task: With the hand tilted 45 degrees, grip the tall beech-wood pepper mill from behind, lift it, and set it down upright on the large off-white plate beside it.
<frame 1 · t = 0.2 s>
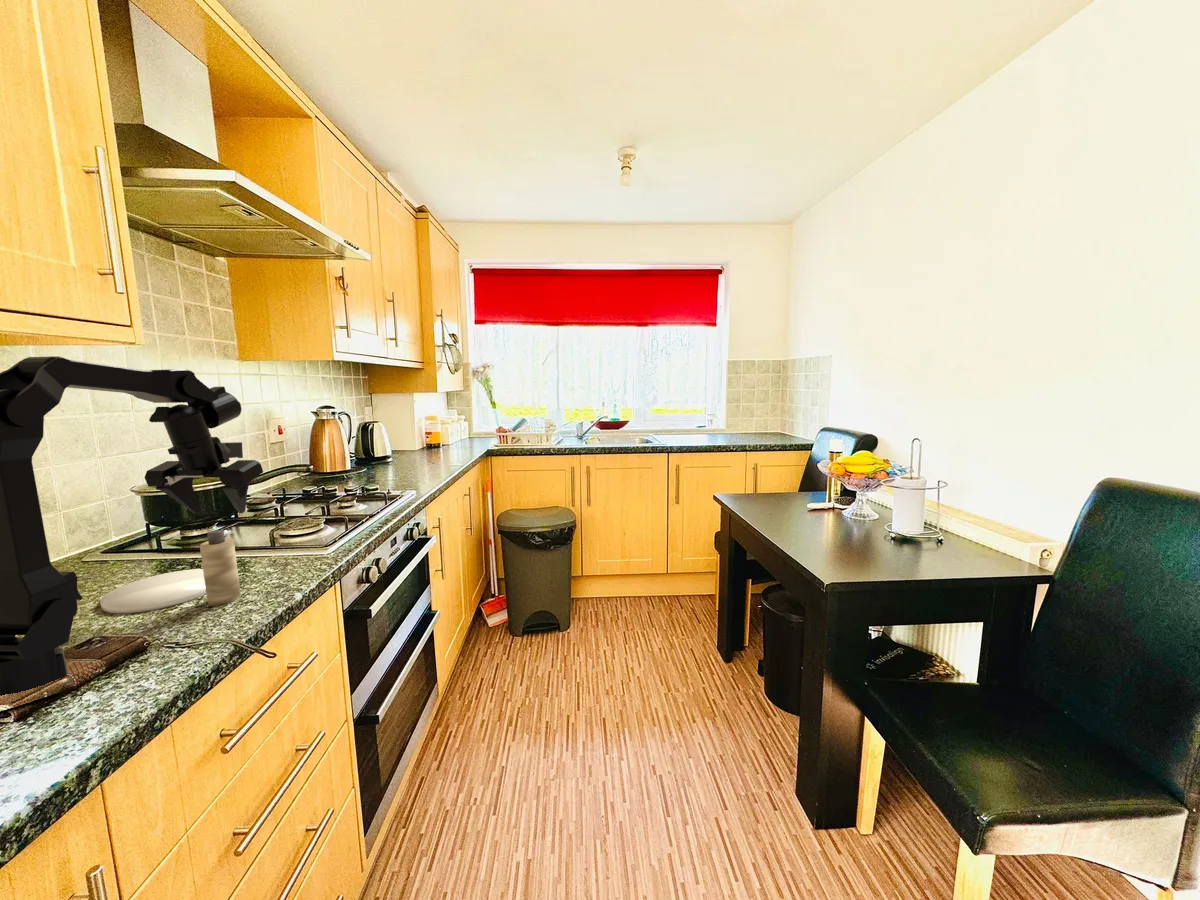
hand: (219, 512, 97), 15 cm above the counter, tool tilted 15°, fingers open, 9 cm apart
pepper mill: (224, 599, 94), on the counter
plate: (165, 592, 98), on the counter
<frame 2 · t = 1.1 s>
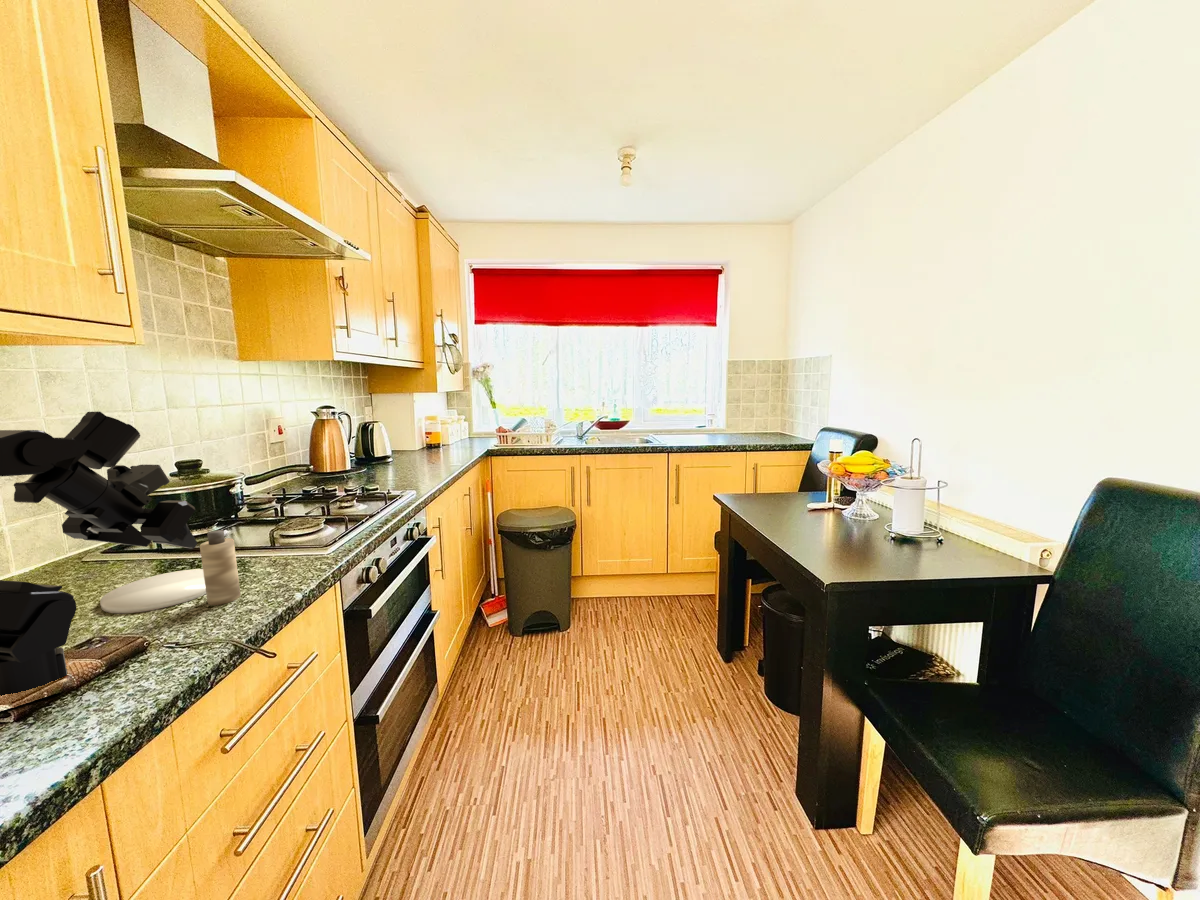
hand: (171, 544, 84), 13 cm above the counter, tool tilted 45°, fingers open, 9 cm apart
nothing on the counter moved.
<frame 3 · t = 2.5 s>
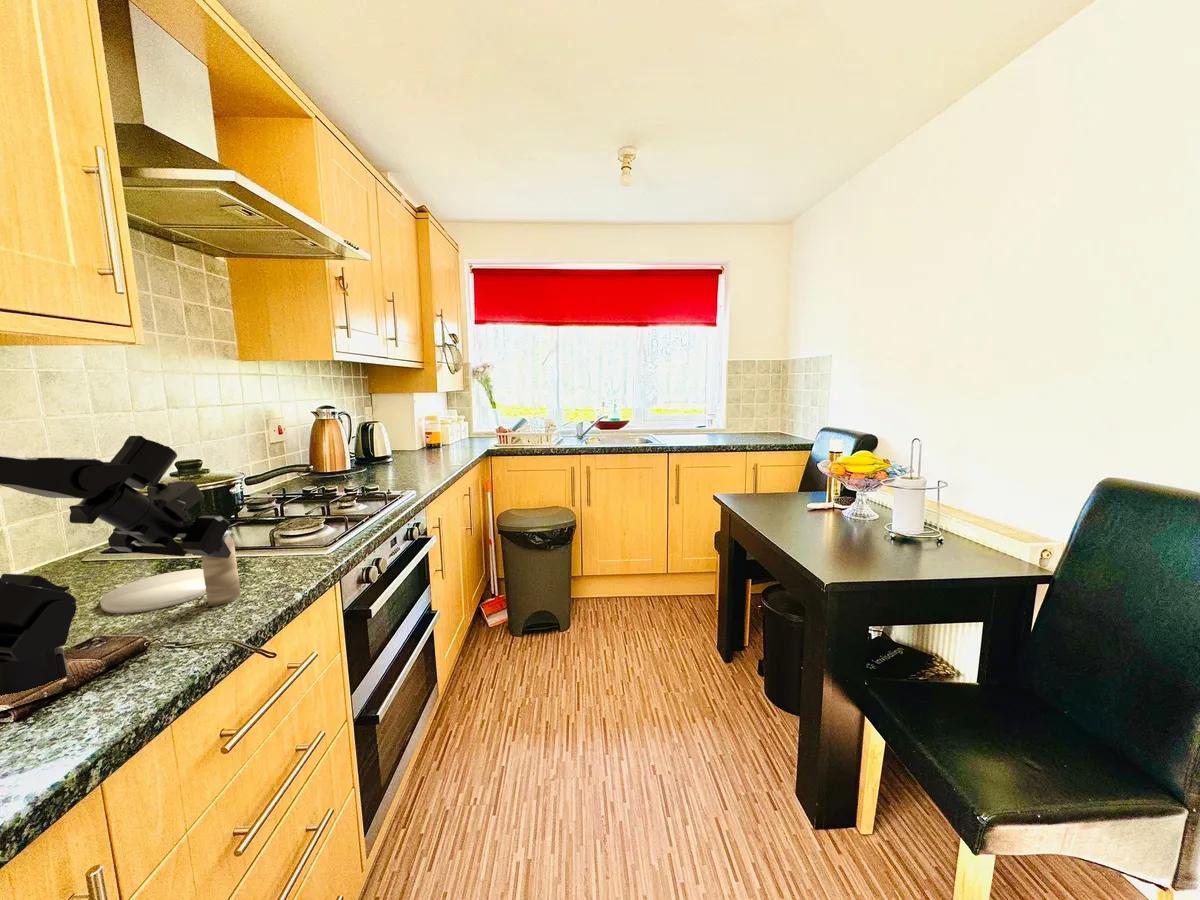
hand: (207, 554, 90), 9 cm above the counter, tool tilted 45°, fingers open, 9 cm apart
nothing on the counter moved.
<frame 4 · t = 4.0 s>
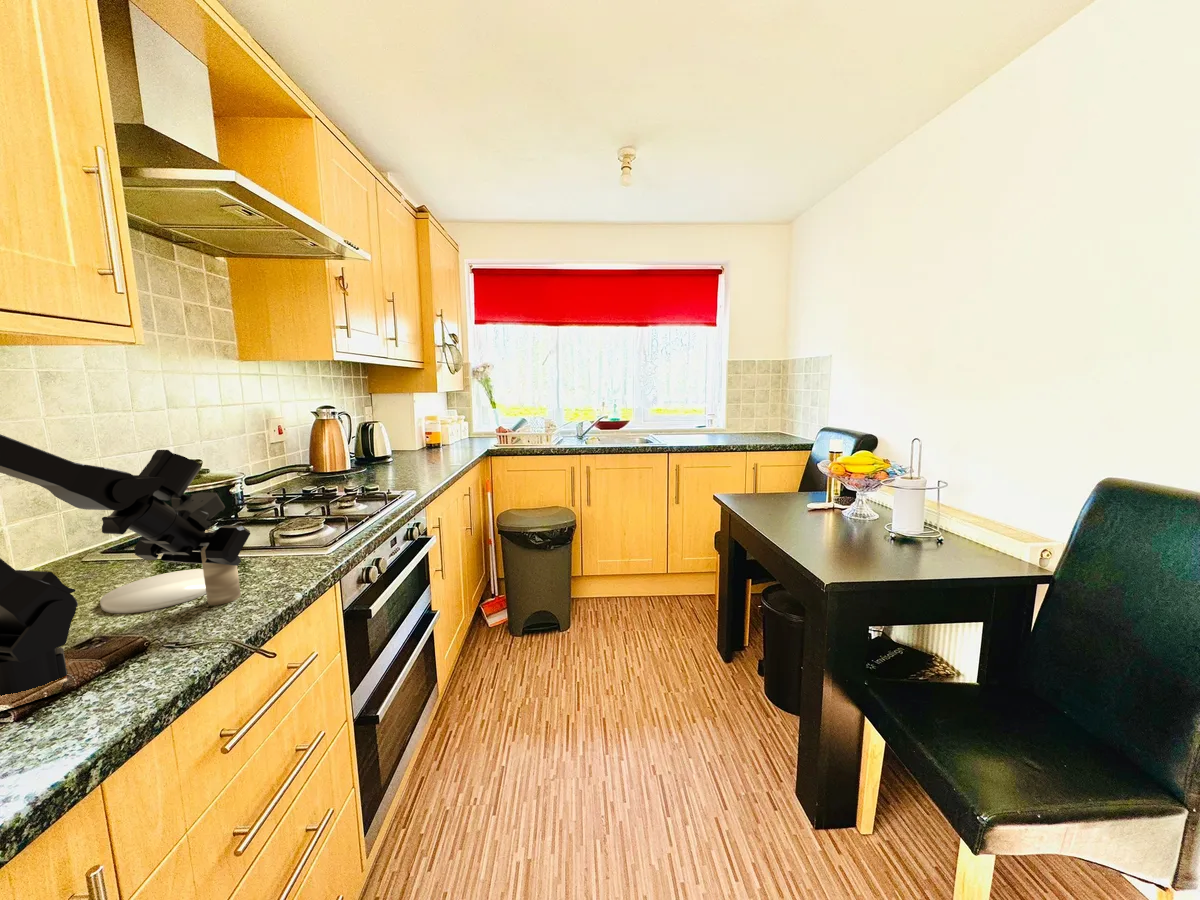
hand: (226, 562, 94), 7 cm above the counter, tool tilted 45°, fingers closed on pepper mill, 5 cm apart
pepper mill: (224, 599, 94), on the counter, touching gripper
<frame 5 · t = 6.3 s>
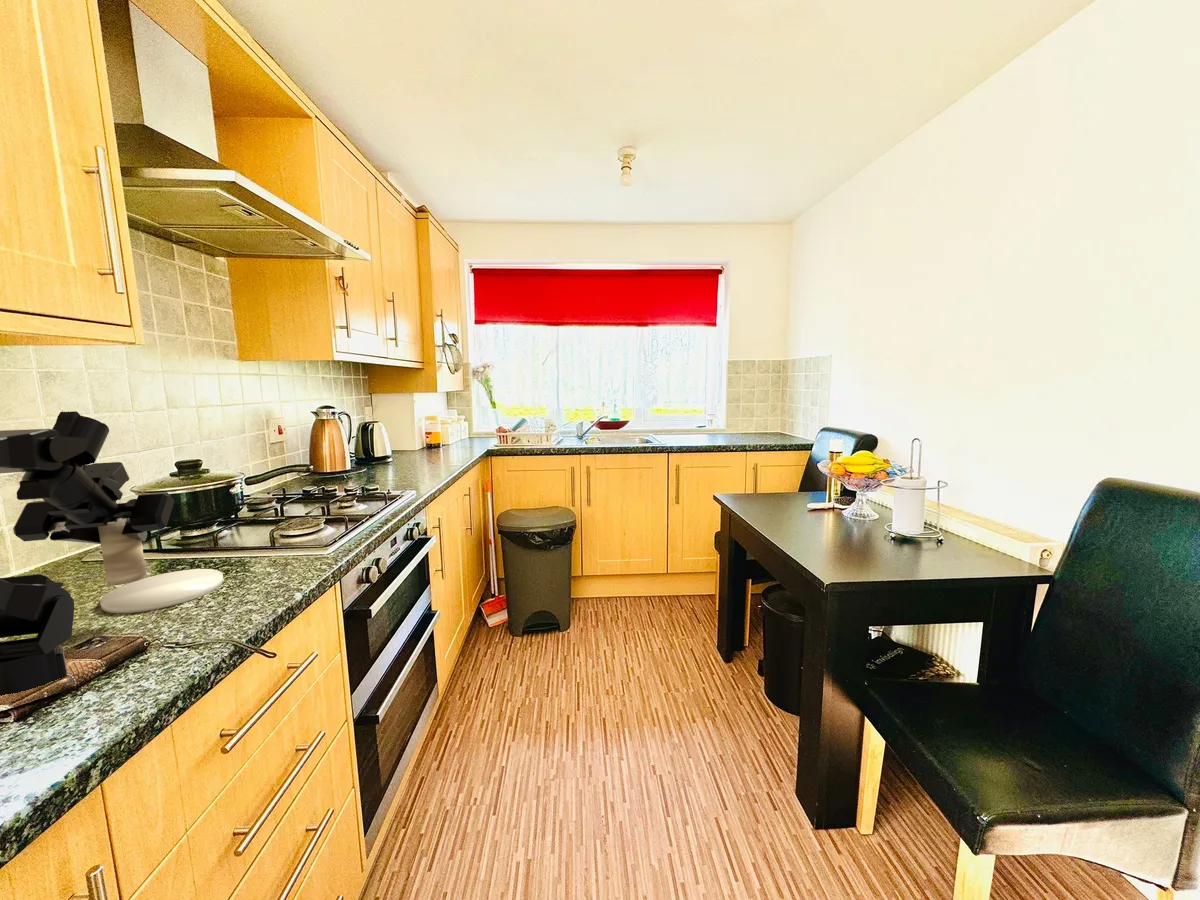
hand: (126, 540, 87), 13 cm above the counter, tool tilted 45°, fingers closed on pepper mill, 5 cm apart
pepper mill: (127, 579, 86), point 7 cm above the counter, touching gripper
when the fingers open (9 cm above the counter, at t = 8.5 s): pepper mill drops 1 cm, resting on plate.
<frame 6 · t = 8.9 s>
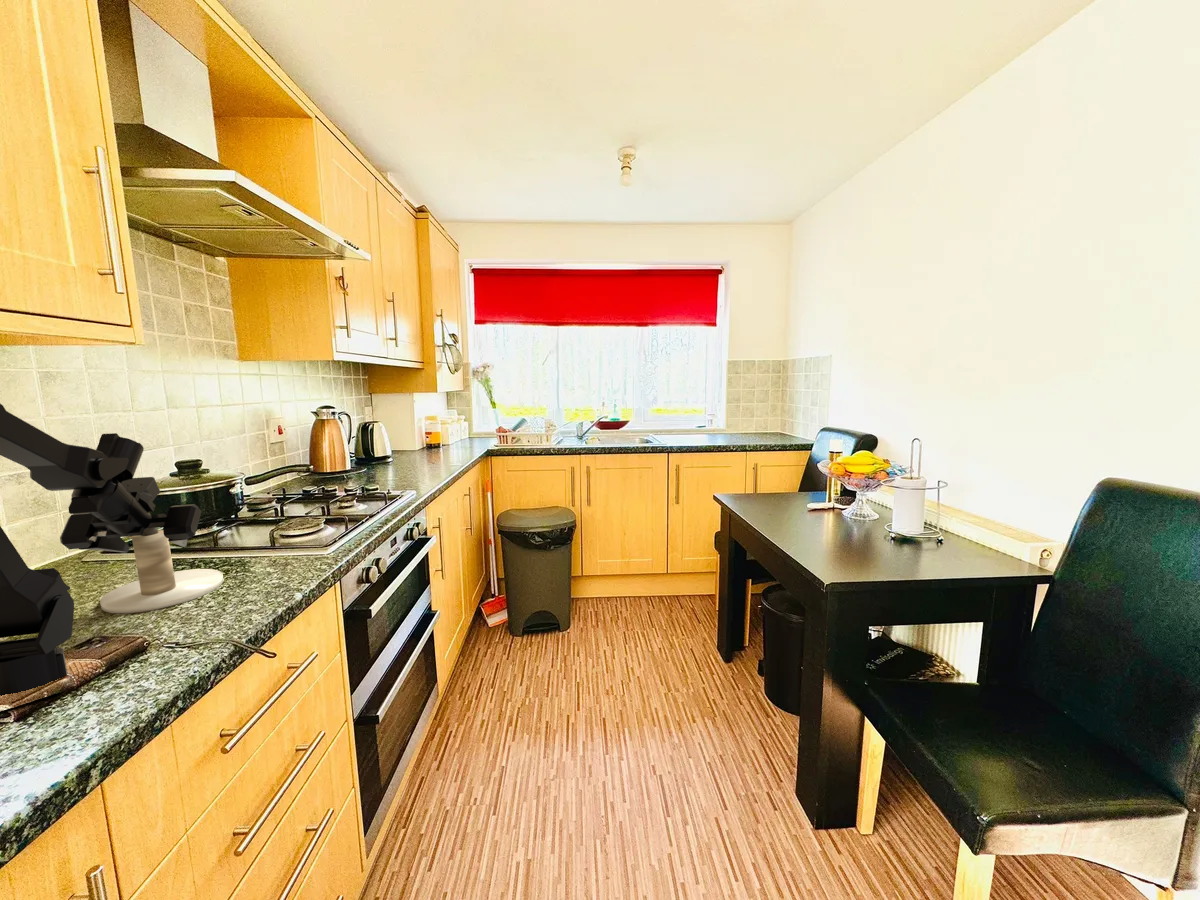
hand: (157, 547, 96), 9 cm above the counter, tool tilted 45°, fingers open, 9 cm apart
pepper mill: (158, 589, 96), point 1 cm above the counter, touching plate
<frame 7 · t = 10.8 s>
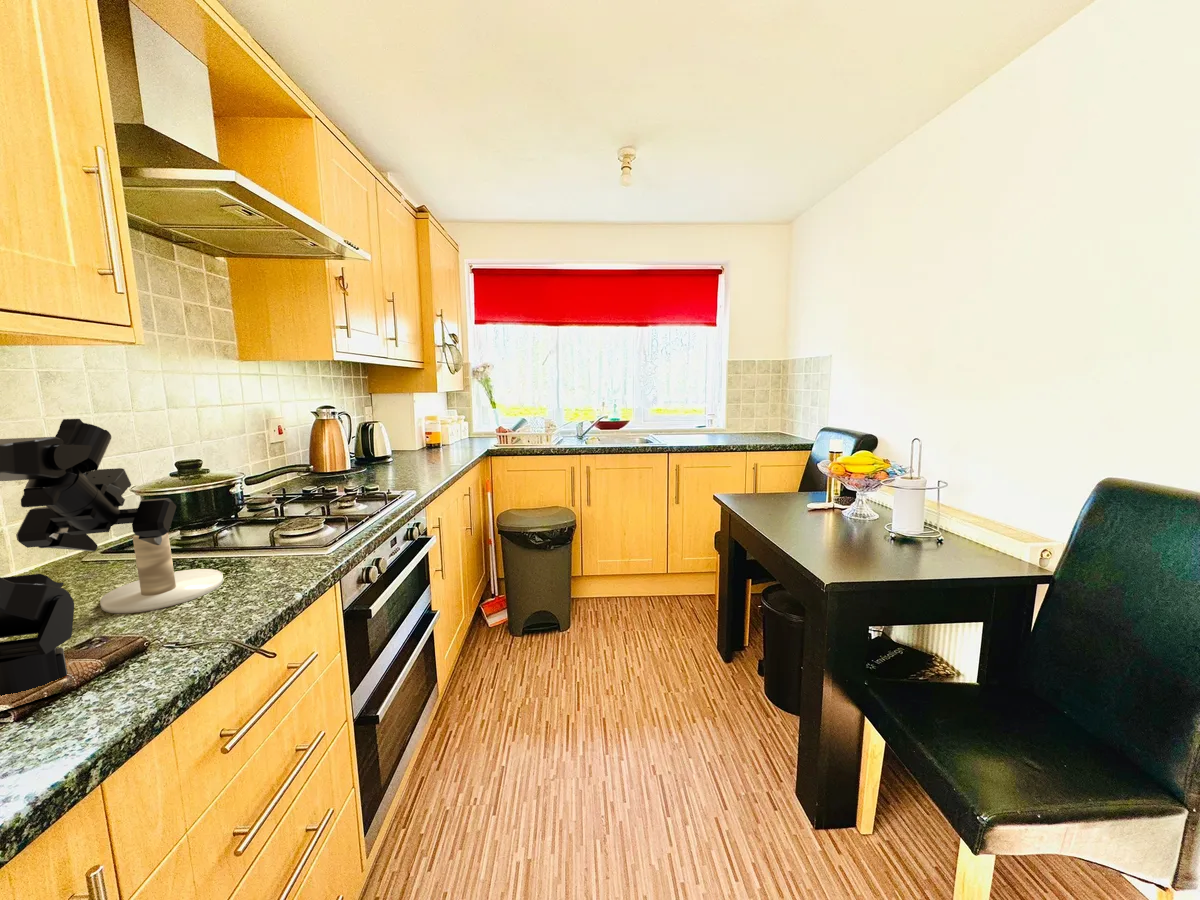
hand: (128, 545, 87), 12 cm above the counter, tool tilted 45°, fingers open, 9 cm apart
nothing on the counter moved.
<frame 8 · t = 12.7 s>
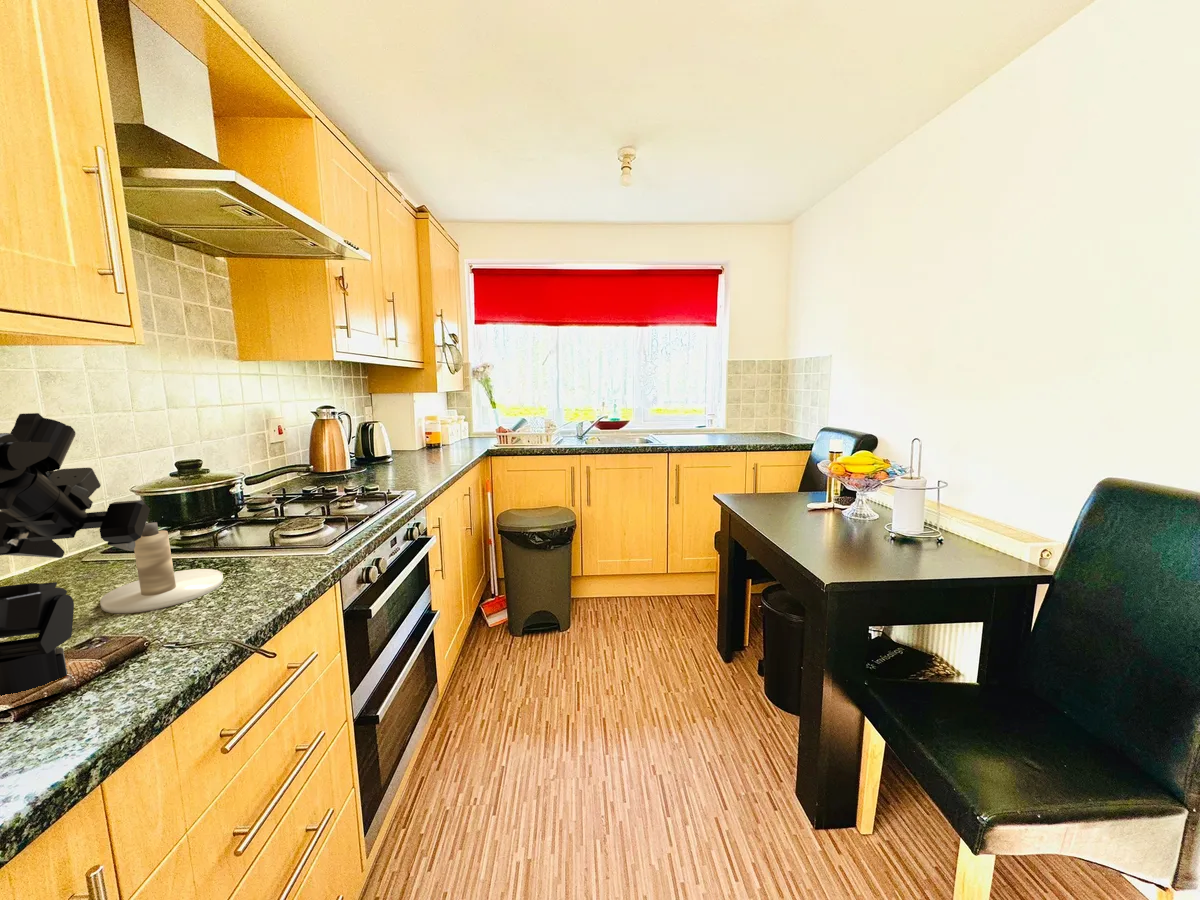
hand: (98, 551, 80), 14 cm above the counter, tool tilted 45°, fingers open, 9 cm apart
nothing on the counter moved.
at the end: pepper mill inside the target area on the plate (1.9 cm from its centre), point 1.2 cm above the plate's base; pepper mill tilted 0°; the gripper is holding nothing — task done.
